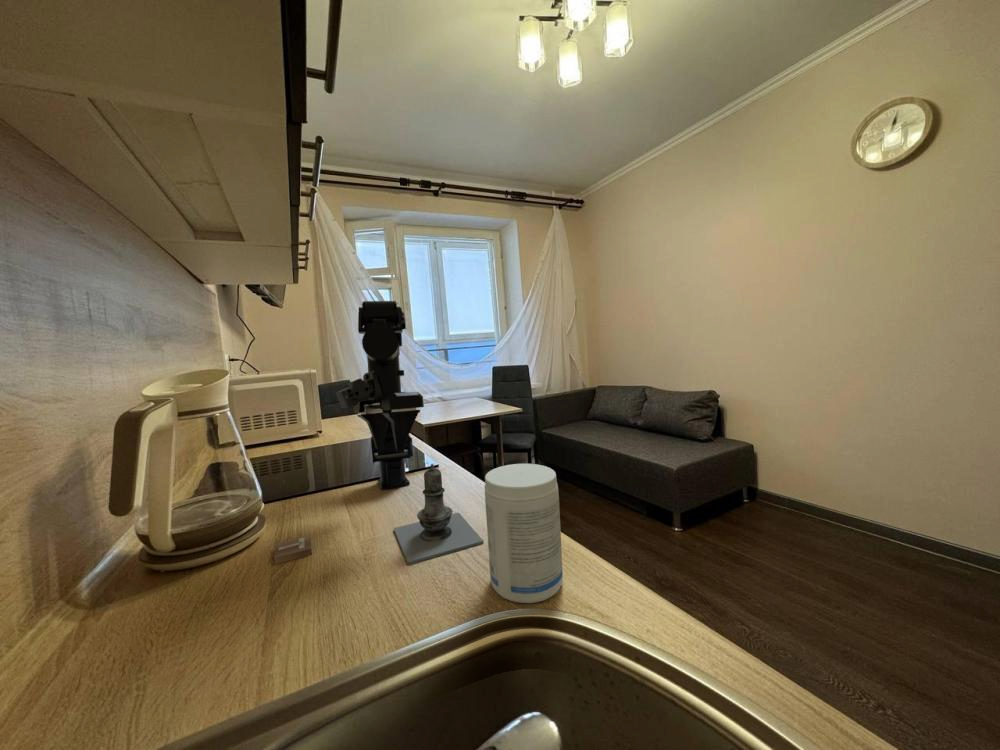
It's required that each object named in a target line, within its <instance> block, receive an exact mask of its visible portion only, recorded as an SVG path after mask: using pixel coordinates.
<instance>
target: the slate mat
mask: <svg viewBox="0 0 1000 750" xmlns="http://www.w3.org/2000/svg"><path fill="white" fill-rule="evenodd" d="M447 527H449V528H451V530H452V534H451V535H450V536H449V537H448V538H446V539H444V540H441V541H436V542H428V541H424V540H422V539H421V538H420V534H421V532H422V531H423V530H424V528H423V527H422V526H421V524H420V521H418V522H417V521H416V522H414V523H410V524H409V523H408V524H404V525H401V526H398V527H397V526H396V527H393V532H394V534H395V536H396V538H397V541H398V544H399V546H400V549H401V551H402V554H403V555H404V558H405V561H406V564H407V565H412V564H415V563H420V562H422V561H426V560H429V559H433V558H437V557H440V556H443V555H447V554H450V553H453V552H458V551H460V550H464V549H467V548H471V547H475V546H478V545H483V544H484V539H482V537H481V536H480V535H479V534H478V533H477V531H475V529H474V528H473V527H472V525H470V524H469V522H468V521H467V520H466V519H465V518H464V516H462V515H461V513H460V512H454V513H452V515H451V519H450V522H449V524H448V525H447Z"/></svg>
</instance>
